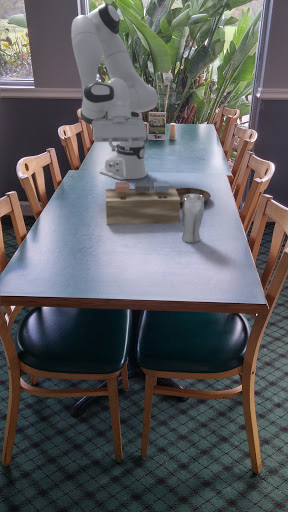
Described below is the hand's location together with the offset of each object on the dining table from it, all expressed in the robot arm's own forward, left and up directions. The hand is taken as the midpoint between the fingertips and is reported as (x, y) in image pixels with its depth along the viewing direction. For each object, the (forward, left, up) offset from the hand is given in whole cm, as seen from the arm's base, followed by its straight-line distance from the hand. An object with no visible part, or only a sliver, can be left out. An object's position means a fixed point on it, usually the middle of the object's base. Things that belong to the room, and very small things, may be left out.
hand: (120, 150), depth 170 cm
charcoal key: (+13, -5, -11) cm, 18 cm away
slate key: (+19, -1, -11) cm, 22 cm away
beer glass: (+38, -12, -22) cm, 45 cm away
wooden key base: (+14, -6, -21) cm, 26 cm away
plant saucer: (+20, +19, -22) cm, 35 cm away
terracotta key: (+8, -10, -11) cm, 16 cm away
